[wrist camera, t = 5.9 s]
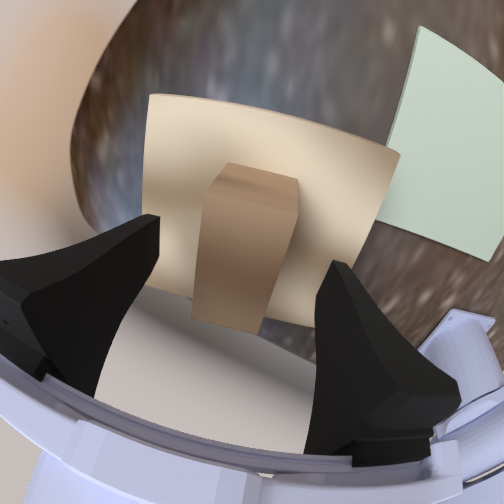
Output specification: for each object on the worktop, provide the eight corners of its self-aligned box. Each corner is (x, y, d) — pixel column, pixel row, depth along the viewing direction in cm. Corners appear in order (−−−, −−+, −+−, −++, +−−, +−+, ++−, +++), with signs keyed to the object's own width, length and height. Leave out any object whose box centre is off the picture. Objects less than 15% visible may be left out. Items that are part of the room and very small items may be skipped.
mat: (486, 259, 17) (488, 262, 17) (360, 212, 17) (361, 214, 17) (542, 123, 10) (545, 125, 9) (417, 26, 9) (420, 25, 9)
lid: (318, 319, 17) (320, 376, 13) (149, 276, 17) (119, 325, 13) (394, 150, 11) (436, 183, 7) (157, 93, 11) (102, 103, 7)
